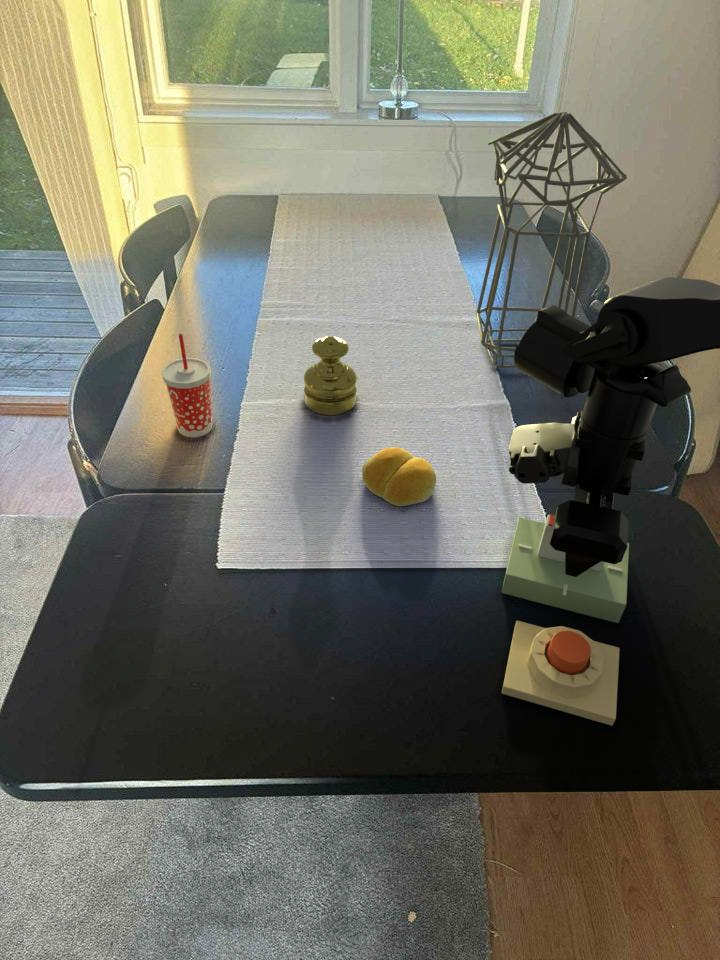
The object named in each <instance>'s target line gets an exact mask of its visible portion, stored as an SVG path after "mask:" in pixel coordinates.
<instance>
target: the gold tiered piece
mask: <svg viewBox="0 0 720 960" xmlns="http://www.w3.org/2000/svg"><path fill="white" fill-rule="evenodd" d="M349 349H350V347H349V344H348V342H347V341H345V340H344V339H343V338H340V337H336V336H332V335H331V336H330V335H329V336H323V337H320V338H318V339H316V340H315V341H314V342H313V343H312V345H311V351H312V353H313V354H314V355H315V356H316V357H318V358H319V361H317V362H316V363H314V364H313V363H312V364H311V365H310V366H308V367H307V369H306V370H305V371H304V374H303V382H304V387H303V392H304V404H305V405H306V406H307V408H308V409H310V410H311V411H312V412H314V413H317V414H320V415H324V416H336V415H337V416H338V415H342V414H345V413H347V412H349V411H350V410H351V409H353V408H354V407H355V405H356V402H357V392H358V391H357V389H358V388H357V386H356V385H357V382H358V376H357V373H356V371H355V370H354V368H353V367H352V366H350V365H349V364H347V363H345V362H344V361H343V360H341V358H343V357H345V356H346V355H348V353H349Z"/></svg>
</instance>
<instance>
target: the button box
mask: <svg viewBox="0 0 720 960" xmlns="http://www.w3.org/2000/svg"><path fill="white" fill-rule="evenodd" d="M560 631H573V632H576V633H578V634H580V635H581V636H583V637H584V638H585V639H586V640H587V641H588V643H589V645H590V648H591V654H590V657H589V659H588V662H587V664H586V667H585V668H584V669H583V670H582V671H581V672H579V673H576V674H567V673H563V672H561V671H559V670H557V669H556V668H554V667H553V666H552V665H551V663H550V662H549V660H548V656H547V651H548V647H549V645H550V642H551V639H552V637H553V636H554V635H555V634H556V633H558V632H560ZM620 651H621V649H620V647H618V646H615V645H611V644H606V643H603V642H600V641H596V640H593V639H591V638H590V637H589V636H588V635H586V634H585V633H584V632H583V631H581V630H579V629H574V628H571V627H568V626H563V625H560V626H553V627H543V626H539V625H536V624H533V623H532V624H531V623H528V622H525V621H521V620H516V621H515V624H514V627H513V633H512V639H511V643H510V649H509V653H508V658H507V664H506V669H505V674H504V680H503V683H502V688H501V694H502V695H506V696H509V697H512V698H516V699H519V700H522V701H526V702H530V703H532V704H536V705H539V706H543V707H546V708H550V709H553V710H556V711H561V712H564V713H568V714H571V715H573V716H576V717H580V718H584V719H588V720H591V721H595V722H598V723H602V724H605V725H609V726H611V727H612V726H614V723H615V721H616V719H617V704H618V689H619V688H618V686H619V667H620Z"/></svg>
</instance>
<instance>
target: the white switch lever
mask: <svg viewBox="0 0 720 960" xmlns="http://www.w3.org/2000/svg"><path fill="white" fill-rule="evenodd" d="M554 518H555V514H552V513H550V514H547V517H546V520H545V522H544V523H545V527H544V531H543V534H542V538H541V541H540V545H539V550H538V556H540V557H544V558H548V559H552V560H556V561H560V562H564V563H565V552H561V551H557V550H555V549H554V548H553V547H552V546H551V545H550V539H551V533H552V527H553V522H554ZM603 563H604V562H602V561H601V562H599V563H598V564H596V565H594V566H593V567H591V568H590V569H593V570H597V571H601V569H602V566H603Z"/></svg>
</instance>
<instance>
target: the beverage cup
mask: <svg viewBox="0 0 720 960" xmlns="http://www.w3.org/2000/svg"><path fill="white" fill-rule="evenodd" d="M178 339H179V346H180V352H181V358H176V359H173V360H171V361H169V362H167V363H166V364H165V365H164V366H163V367H162V369H161V376H162V380H163V382H164V383H165V385H166V389H167V393H168V396H169V401H170V404H171V409H172V411H173V417H174V418H175V424H176V428H177V431H178V432H179V434H180V435H182V436H184V437H187V438H199V437H203V436H205V435H207V434H209V433H210V431H212V429H213V425H214V424H213V411H212V397H211V396H212V395H211V377H212V376H211V375H212V367H211V365H210V363H209V362H208V361H206V360H204V359H202V358H198V357H187V354H186V346H185V341H184V334H183V333H178Z"/></svg>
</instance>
